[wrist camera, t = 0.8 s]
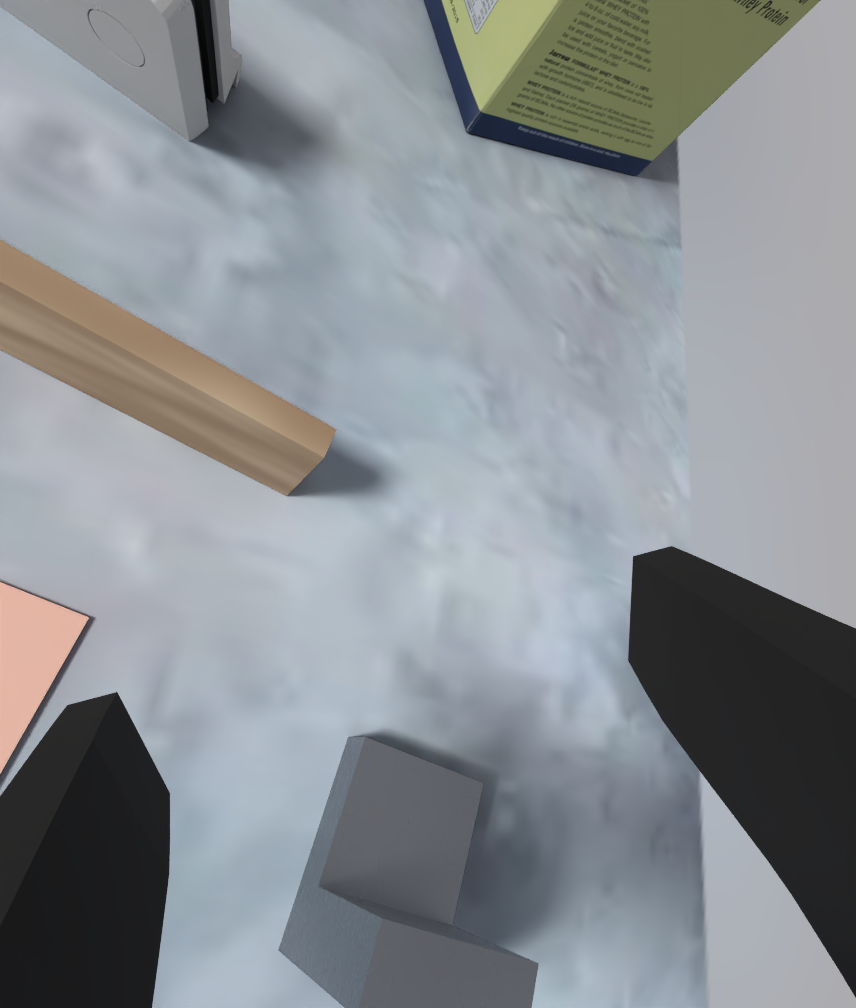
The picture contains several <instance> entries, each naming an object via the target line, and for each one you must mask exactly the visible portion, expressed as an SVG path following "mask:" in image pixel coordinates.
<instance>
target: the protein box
mask: <svg viewBox="0 0 856 1008" xmlns="http://www.w3.org/2000/svg"><path fill="white" fill-rule="evenodd" d="M819 1H820V0H424V2H425V5H426V8H427V11H428V14H429V17H430V21H431V24H432V27H433V30H434V33H435V36H436V39H437V42H438V45H439V48H440V51H441V55H442V57H443V60H444V64H445V67H446V70H447V73H448V76H449V78H450V82H451V85H452V88H453V91H454V94H455V97H456V100H457V103H458V106H459V110H460V113H461V116H462V119H463V122H464V125H465V128H466V131H467V132H469V133H473V134H477V135H480V136H484V137H488V138H492V139H495V140H499V141H503V142H507V143H511V144H515V145H519V146H523V147H527V148H530V149H534V150H538V151H541V152H545V153H550V154H553V155H557V156H561V157H564V158H568V159H572V160H576V161H579V162H583V163H587V164H591V165H595V166H598V167H602V168H606V169H610V170H614V171H618V172H622V173H625V174H629V175H633V176H637V175H638V174H639V173H640V172H641V171H642V170H643V169H644V168H645V167H646V166H648V165H649V164H650V163H651V162H652V161H653V160H654V159H655V158H656V157H657V156H658V155H659V154H660V153H661V152H662V151H663V150H664V149H665V148H666V147H667V146H668V145H670V144H671V143H672V142H673V141H674V140H675V139H676V138H677V137H678V136H679V135H680V134H681V133H682V132H683V131H684V130H685V129H686V128H687V127H689V126H690V125H691V123H693V122H694V120H696V119H697V118H698V117H699V116H700V115H701V114H702V113H703V112H704V111H705V110H706V109H707V108H708V107H709V106H710V105H711V104H713V103H714V102H715V101H716V100H717V99H718V98H719V97H720V96H721V95H722V94H723V93H724V92H725V91H726V90H727V89H728V88H729V87H730V86H731V85H732V84H733V83H734V82H735V81H737V79H739V78H740V77H741V76H742V74H744V73H745V72H746V71H747V70H748V69H749V68H750V67H751V66H752V65H753V64H754V63H755V62H756V61H757V60H758V59H760V57H762V56H763V55H764V54H765V53H766V52H767V51H768V50H769V49H770V48H771V47H772V46H773V45H774V44H775V43H776V42H777V41H778V40H780V38H782V36H784V35H785V34H786V33H787V32H788V31H789V30H790V29H791V28H792V27H793V26H794V25H795V24H796V23H797V22H798V21H799V20H800V19H801V18H802V17H804V15H806V14H807V13H808V12H809V11H810V10H811V9H812V8H813V7H814V6H815V5H816V4H817V3H818V2H819Z"/></svg>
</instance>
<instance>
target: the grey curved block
mask: <svg viewBox="0 0 856 1008" xmlns="http://www.w3.org/2000/svg"><path fill="white" fill-rule="evenodd" d="M0 7H2V8H3V9H5V10H6V11H7V12H9V13H10V14H12V15H13V16H14V17H16V18H17V19H19V20H20V21H21V22H23V23H24V24H26V25H27V26H28V27H30V28H31V29H33V30H34V31H35V32H37V33H38V34H40V35H41V36H42V37H44V38H45V39H47V40H48V41H49V42H51V43H52V44H54V45H55V46H56V47H58V48H59V49H61V50H62V51H63V52H65V53H66V54H68V55H69V56H70V57H72V58H73V59H75V60H76V61H77V62H79V63H80V64H82V65H83V66H84V67H86V68H87V69H89V70H90V71H91V72H93V73H94V74H96V75H97V76H98V77H100V78H101V79H103V80H104V81H105V82H107V83H108V84H110V85H111V86H112V87H114V88H115V89H117V90H118V91H119V92H121V93H122V94H124V95H125V96H126V97H128V98H129V99H131V100H132V101H133V102H135V103H136V104H138V105H139V106H140V107H142V108H143V109H145V110H146V111H147V112H149V113H150V114H152V115H153V116H154V117H156V118H157V119H159V120H160V121H161V122H163V123H164V124H166V125H167V126H168V127H170V128H171V129H173V130H174V131H175V132H177V133H178V134H180V135H181V136H182V137H184V138H185V139H187V140H188V141H191V140H193V139H194V138H196V137H198V136H199V135H200V134H201V133H202V132H204V131H205V130H206V129H207V128H208V127H209V125H208V117H207V111H208V109H207V101H206V98H207V99H209V100H210V101H211V102H214V101H215V100H216V98H217V99H218V100H220V101H221V102H222V103H224V104H225V101H226V99H227V96H228V94H229V91H230V89H231V86H232V85H233V86H234V87H235V88H236V87H237V85H238V82H239V78H240V71H241V64H242V55H240V54H239V53H238V52H237V51H235V50H234V49H233V48H232V47H231V31H230V16H229V0H0Z"/></svg>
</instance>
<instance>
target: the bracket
mask: <svg viewBox="0 0 856 1008" xmlns="http://www.w3.org/2000/svg"><path fill="white" fill-rule="evenodd" d="M483 784H484V783H482V782H479V781H477V780H474V779H472V778H469V777H466V776H464V775H461V774H459V773H456V772H454V771H451V770H449V769H446V768H443V767H441V766H438V765H436V764H433V763H431V762H428V761H426V760H423V759H421V758H418V757H415V756H413V755H410V754H408V753H405V752H403V751H400V750H398V749H395V748H392V747H390V746H387V745H385V744H382V743H380V742H377V741H375V740H372V739H369V738H367V737H348V739H347V742H346V745H345V749H344V752H343V755H342V758H341V761H340V764H339V767H338V770H337V773H336V776H335V779H334V782H333V785H332V788H331V791H330V794H329V797H328V800H327V804H326V807H325V810H324V813H323V816H322V819H321V822H320V825H319V828H318V831H317V834H316V837H315V840H314V843H313V846H312V849H311V852H310V855H309V859H308V862H307V865H306V868H305V871H304V874H303V877H302V880H301V883H300V886H299V889H298V892H297V895H296V898H295V901H294V904H293V907H292V910H291V914H290V917H289V920H288V923H287V926H286V929H285V932H284V935H283V938H282V941H281V944H280V947H279V951H280V952H281V953H282V954H283V955H284V956H286V957H287V958H288V959H289V960H290V961H291V962H293V963H294V964H295V965H296V966H297V967H298V968H299V969H301V970H302V971H303V972H304V973H305V974H306V975H308V976H309V977H310V978H311V979H312V980H313V981H315V982H316V983H317V984H318V985H319V986H320V987H321V988H323V989H324V990H325V991H326V992H327V993H328V994H330V995H331V996H332V997H333V998H334V999H335V1000H337V1001H338V1002H339V1003H340V1004H341V1005H342V1006H343V1007H345V1008H531V1007H532V1001H533V995H534V988H535V982H536V976H537V970H538V963H536V962H534V961H532V960H529V959H527V958H525V957H523V956H520V955H518V954H516V953H513V952H511V951H509V950H507V949H504V948H502V947H500V946H497V945H495V944H493V943H491V942H488V941H486V940H484V939H482V938H479V937H477V936H475V935H472V934H470V933H468V932H466V931H463V930H461V929H459V928H456V927H454V926H452V925H453V921H454V916H455V911H456V907H457V902H458V898H459V893H460V889H461V884H462V880H463V875H464V871H465V866H466V861H467V857H468V852H469V848H470V843H471V839H472V834H473V830H474V825H475V821H476V816H477V811H478V807H479V802H480V798H481V793H482V789H483Z"/></svg>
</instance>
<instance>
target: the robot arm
mask: <svg viewBox="0 0 856 1008" xmlns="http://www.w3.org/2000/svg"><path fill="white" fill-rule="evenodd" d="M628 661H629V663H630V665H631V666H632V668H633V670H634V672H635V674H636V675H637V677H638V679H639V681H640V683H641V684H642V686H643V688H644V690H645V692H646V693H647V695H648V697H649V698H650V700H651V702H652V703H653V705H654V707H655V708H656V710H657V712H658V714H659V715H660V717H661V719H662V720H663V722H664V723H665V724H666V726H667V727H668V729H669V730H670V731H671V733H672V734H673V735H674V737H675V738H676V740H677V741H678V742H679V744H680V745H681V746H682V748H683V749H684V750H685V752H686V753H687V754H688V756H689V757H690V758H691V760H692V761H693V762H694V764H695V765H696V766H697V768H698V769H699V770H700V772H701V773H702V774H703V776H704V777H705V778H706V780H707V781H708V782H709V783H710V785H711V786H712V788H713V789H714V790H715V791H716V793H717V794H718V795H719V797H720V798H721V799H722V801H723V802H724V803H725V805H726V806H727V807H728V809H729V810H730V811H731V813H732V814H733V815H734V817H735V818H736V819H737V820H738V822H739V823H740V825H741V826H742V827H743V828H744V830H745V831H746V832H747V834H748V835H749V836H750V838H751V839H752V840H753V842H754V843H755V844H756V846H757V847H758V848H759V850H760V851H761V852H762V854H763V855H764V856H765V858H766V859H767V860H768V861H769V863H770V864H771V866H772V867H773V869H774V870H775V871H776V873H777V874H778V876H779V877H780V879H781V880H782V881H783V883H784V884H785V886H786V887H787V889H788V890H789V892H790V893H791V894H792V896H793V897H794V899H795V901H796V902H797V904H798V905H799V907H800V909H801V910H802V912H803V913H804V915H805V917H806V918H807V920H808V921H809V923H810V924H811V926H812V928H813V929H814V931H815V932H816V934H817V935H818V937H819V939H820V940H821V942H822V944H823V945H824V947H825V948H826V950H827V952H828V953H829V955H830V956H831V958H832V960H833V961H834V963H835V964H836V966H837V967H838V969H839V971H840V972H841V974H842V975H843V977H844V979H845V981H846V982H847V984H848V986H849V987H850V989H851V990H852V992H853V994H854V995H855V997H856V628H853V627H851V626H848V625H846V624H843V623H841V622H839V621H837V620H835V619H832V618H830V617H828V616H825V615H823V614H821V613H819V612H816V611H814V610H812V609H810V608H807V607H805V606H803V605H801V604H799V603H796V602H794V601H792V600H790V599H788V598H785V597H783V596H781V595H778V594H777V593H774V592H772V591H770V590H768V589H766V588H763V587H761V586H759V585H757V584H755V583H753V582H751V581H749V580H746V579H744V578H742V577H740V576H738V575H736V574H733V573H731V572H729V571H727V570H725V569H722V568H720V567H718V566H716V565H714V564H712V563H710V562H707V561H705V560H703V559H701V558H698V557H696V556H694V555H692V554H689V553H687V552H684V551H682V550H679V549H677V548H675V547H672V546H671V547H667V548H663V549H659V550H656V551H652V552H648V553H644V554H640V555H637V556H633V571H632V592H631V613H630V634H629V655H628ZM169 855H170V793H169V791H168V789H167V787H166V785H165V783H164V781H163V779H162V777H161V775H160V773H159V772H158V770H157V768H156V766H155V764H154V762H153V760H152V758H151V756H150V754H149V752H148V750H147V748H146V747H145V745H144V743H143V741H142V739H141V737H140V735H139V733H138V731H137V729H136V727H135V725H134V724H133V722H132V720H131V718H130V716H129V714H128V712H127V710H126V708H125V706H124V704H123V702H122V700H121V699H120V697H119V695H118V693H117V692H116V693H112V694H108V695H104V696H101V697H97V698H93V699H89V700H85V701H82V702H78V703H74V704H70V705H67V706H66V708H65V709H64V710H63V712H62V713H61V714H60V716H59V717H58V718H57V719H56V721H55V722H54V723H53V725H52V726H51V727H50V729H49V730H48V731H47V733H46V734H45V736H44V737H43V738H42V740H41V741H40V742H39V744H38V745H37V747H36V748H35V749H34V751H33V752H32V753H31V755H30V756H29V758H28V759H27V760H26V762H25V763H24V764H23V766H22V767H21V769H20V770H19V771H18V773H17V774H16V775H15V777H14V778H13V780H12V781H11V782H10V784H9V785H8V786H7V788H6V789H5V791H4V792H3V793H2V795H1V796H0V1008H152V1003H153V995H154V988H155V980H156V973H157V965H158V958H159V950H160V943H161V935H162V927H163V919H164V911H165V903H166V895H167V887H168V878H169Z"/></svg>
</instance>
